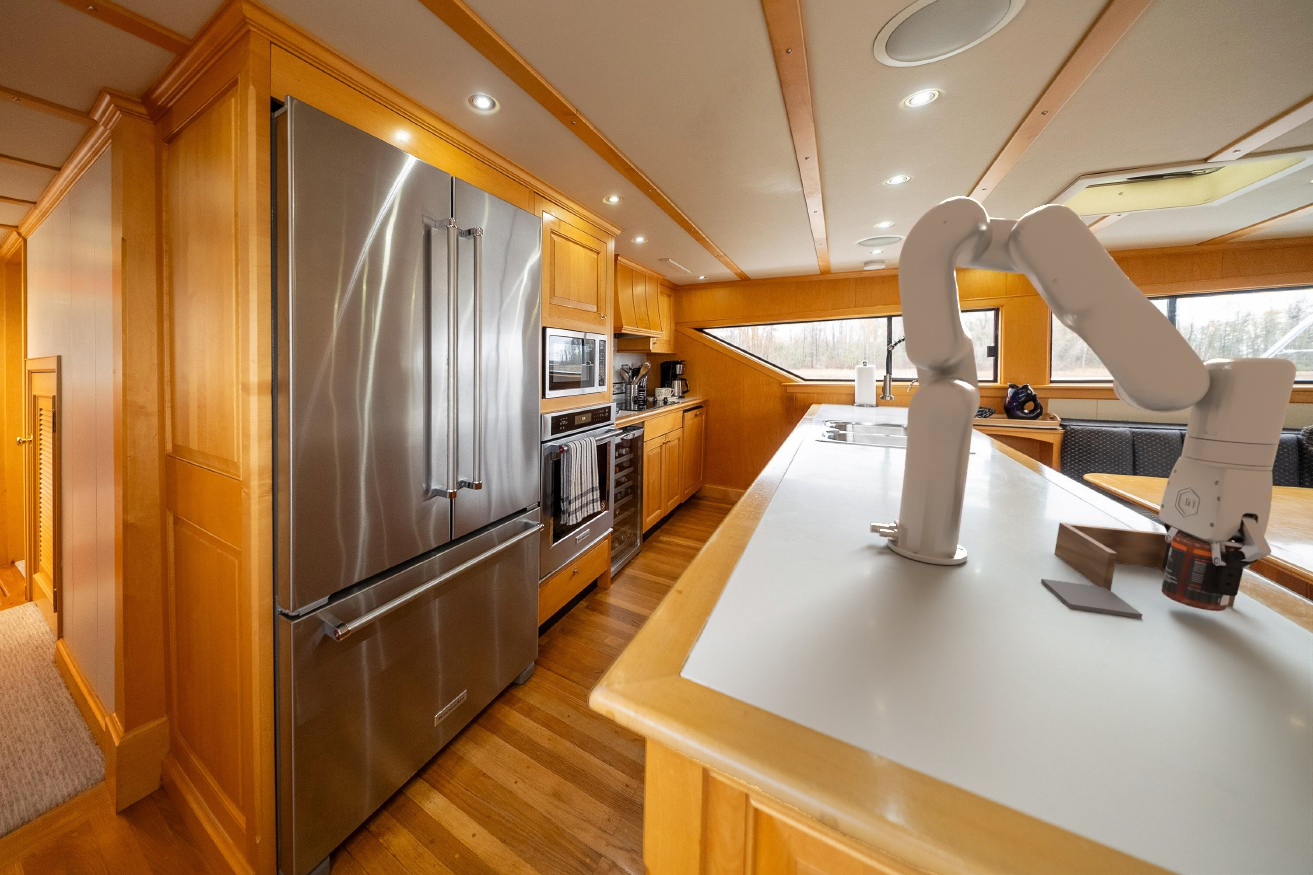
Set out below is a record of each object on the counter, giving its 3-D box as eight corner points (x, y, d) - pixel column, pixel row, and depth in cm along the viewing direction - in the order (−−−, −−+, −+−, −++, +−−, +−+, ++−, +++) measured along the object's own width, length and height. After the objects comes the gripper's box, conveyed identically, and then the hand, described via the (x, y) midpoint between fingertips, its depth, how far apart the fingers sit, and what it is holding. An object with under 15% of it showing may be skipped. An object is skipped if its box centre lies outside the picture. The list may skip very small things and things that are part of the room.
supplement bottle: (1241, 615, 58) (1262, 533, 57) (1186, 610, 60) (1205, 529, 58) (1197, 593, 64) (1215, 518, 62) (1147, 588, 65) (1163, 514, 64)
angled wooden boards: (1102, 589, 69) (1109, 552, 68) (1054, 553, 82) (1059, 522, 81) (1232, 606, 64) (1242, 567, 63) (1159, 566, 77) (1166, 533, 76)
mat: (1069, 607, 63) (1070, 603, 63) (1041, 582, 71) (1041, 578, 71) (1141, 618, 61) (1142, 614, 61) (1104, 590, 68) (1105, 587, 68)
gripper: (1142, 441, 68) (1120, 553, 71) (1250, 464, 52) (1215, 608, 54) (1208, 444, 65) (1182, 560, 68) (1341, 470, 49) (1300, 620, 52)
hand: (1197, 580), depth 61 cm, fingers closed on supplement bottle, 5 cm apart
